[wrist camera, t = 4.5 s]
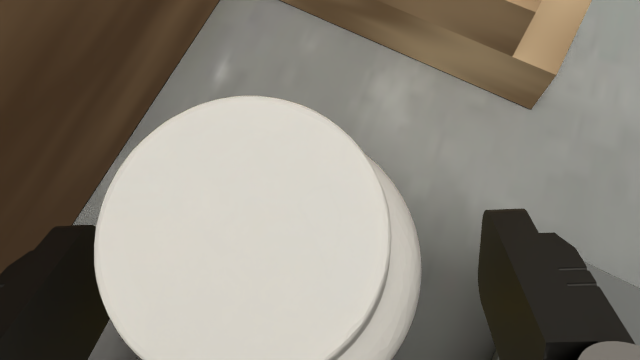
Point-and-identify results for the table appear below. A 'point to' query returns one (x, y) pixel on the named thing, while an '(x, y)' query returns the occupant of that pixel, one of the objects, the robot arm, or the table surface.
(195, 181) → the supplement bottle
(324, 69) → the table surface
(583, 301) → the robot arm
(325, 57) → the table surface
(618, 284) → the charcoal pad
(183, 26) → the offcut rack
